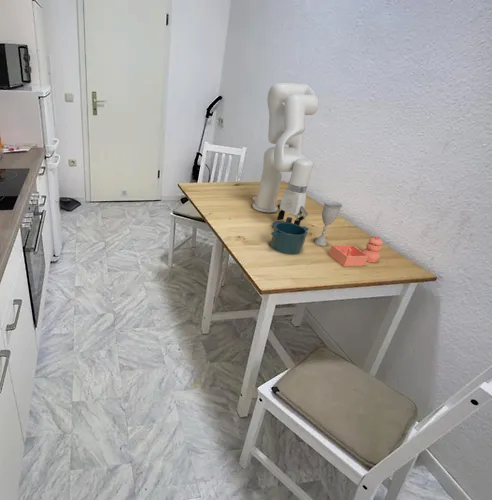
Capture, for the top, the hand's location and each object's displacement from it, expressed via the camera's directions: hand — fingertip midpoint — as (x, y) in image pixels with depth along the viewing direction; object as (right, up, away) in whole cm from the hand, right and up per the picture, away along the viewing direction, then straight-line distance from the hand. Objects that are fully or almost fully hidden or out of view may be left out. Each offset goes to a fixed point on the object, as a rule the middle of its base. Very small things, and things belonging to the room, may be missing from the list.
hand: (287, 223), depth 166 cm
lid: (0, -2, +1) cm, 2 cm away
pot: (-7, -11, -15) cm, 20 cm away
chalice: (+10, -9, -10) cm, 17 cm away
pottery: (+19, -16, -22) cm, 33 cm away
